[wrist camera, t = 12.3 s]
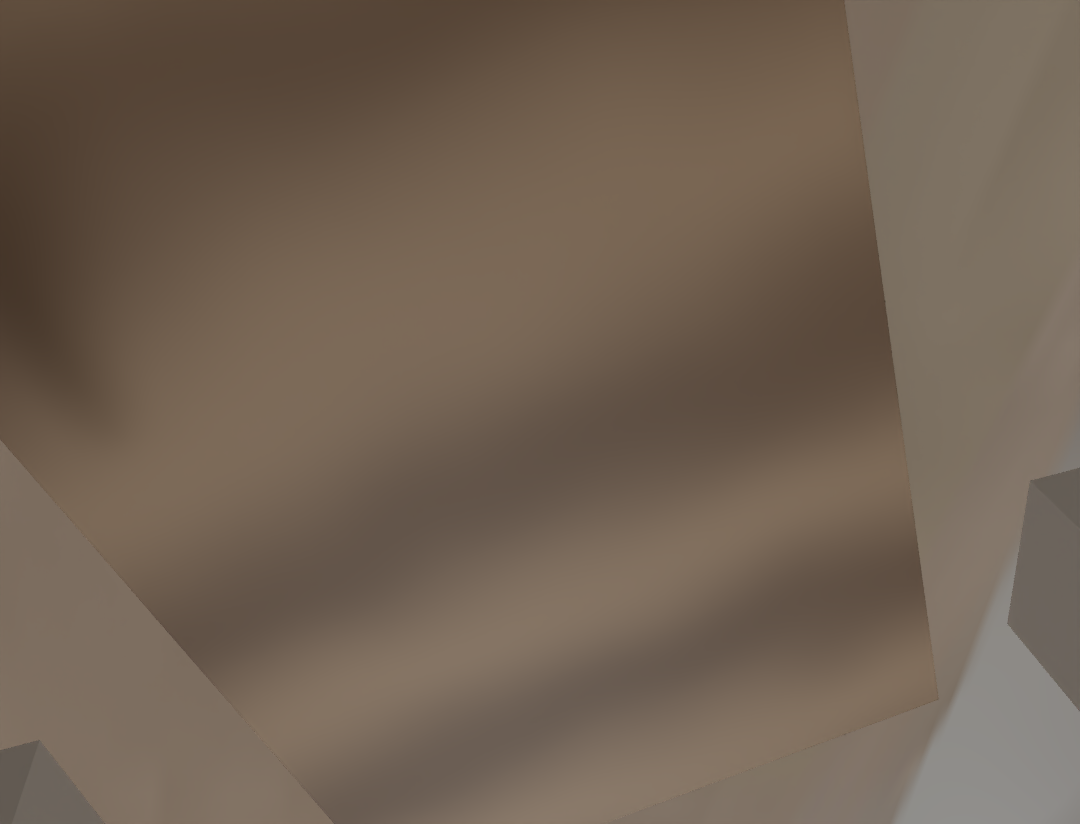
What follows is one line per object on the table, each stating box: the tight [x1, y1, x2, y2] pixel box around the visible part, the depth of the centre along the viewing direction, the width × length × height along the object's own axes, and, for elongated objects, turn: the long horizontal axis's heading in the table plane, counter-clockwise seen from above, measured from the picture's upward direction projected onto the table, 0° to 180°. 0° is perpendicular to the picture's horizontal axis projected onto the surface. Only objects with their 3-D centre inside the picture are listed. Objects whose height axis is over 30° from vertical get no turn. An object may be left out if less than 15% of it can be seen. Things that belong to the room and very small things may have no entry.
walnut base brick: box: [0, 0, 939, 824], centre depth 19 cm, size 22×14×6 cm, turn 19°
